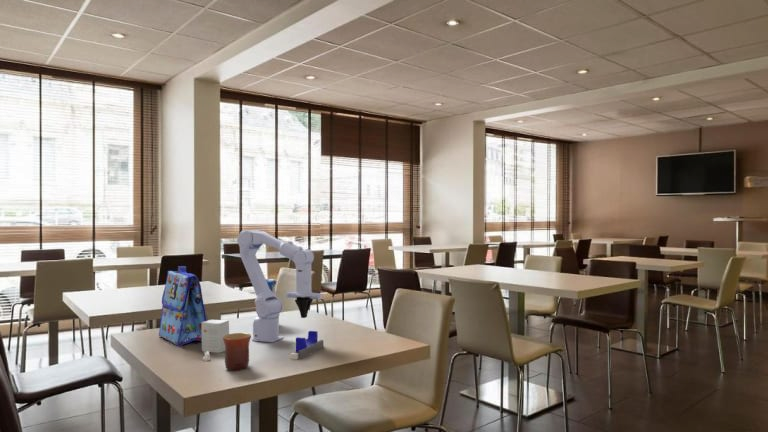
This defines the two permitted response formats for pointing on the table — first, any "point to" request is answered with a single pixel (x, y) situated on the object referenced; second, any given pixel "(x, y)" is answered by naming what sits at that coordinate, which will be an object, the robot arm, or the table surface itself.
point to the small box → (214, 335)
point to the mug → (236, 351)
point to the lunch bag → (182, 308)
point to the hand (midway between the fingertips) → (304, 317)
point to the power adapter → (206, 356)
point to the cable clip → (306, 340)
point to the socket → (307, 350)
